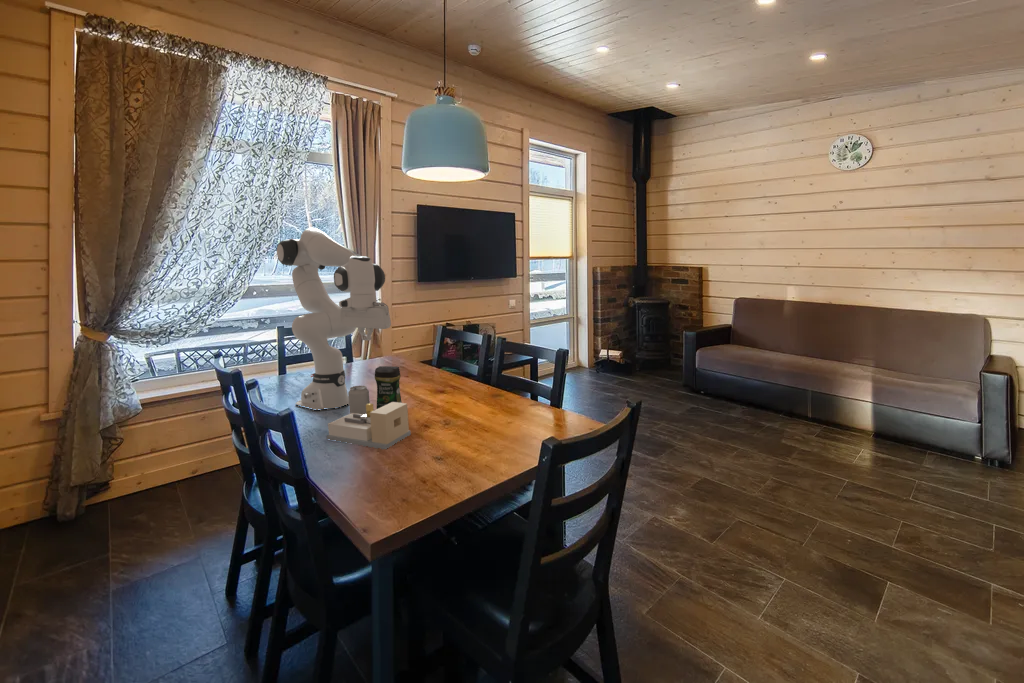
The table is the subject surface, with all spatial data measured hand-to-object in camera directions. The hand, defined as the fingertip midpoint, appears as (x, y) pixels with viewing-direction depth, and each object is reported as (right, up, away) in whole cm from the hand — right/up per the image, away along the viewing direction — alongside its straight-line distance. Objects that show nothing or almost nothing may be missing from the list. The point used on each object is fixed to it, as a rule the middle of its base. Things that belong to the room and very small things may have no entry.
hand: (366, 340), depth 177 cm
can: (-6, -30, +11) cm, 32 cm away
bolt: (+7, -28, -12) cm, 31 cm away
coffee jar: (+4, -29, +17) cm, 34 cm away
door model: (+4, -33, -10) cm, 35 cm away
